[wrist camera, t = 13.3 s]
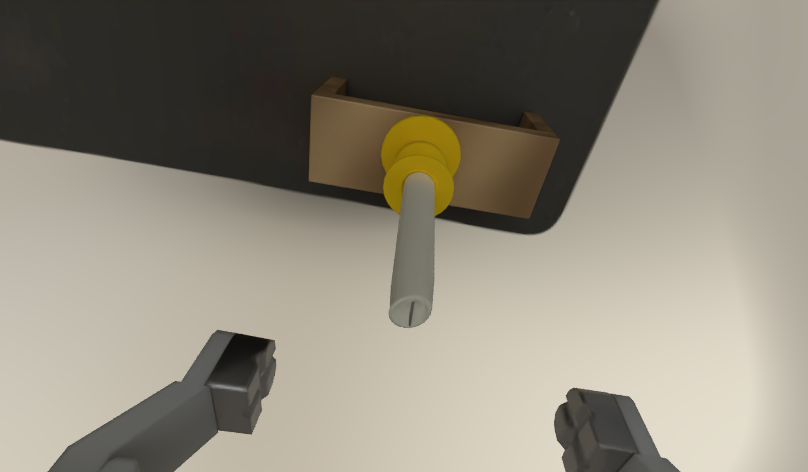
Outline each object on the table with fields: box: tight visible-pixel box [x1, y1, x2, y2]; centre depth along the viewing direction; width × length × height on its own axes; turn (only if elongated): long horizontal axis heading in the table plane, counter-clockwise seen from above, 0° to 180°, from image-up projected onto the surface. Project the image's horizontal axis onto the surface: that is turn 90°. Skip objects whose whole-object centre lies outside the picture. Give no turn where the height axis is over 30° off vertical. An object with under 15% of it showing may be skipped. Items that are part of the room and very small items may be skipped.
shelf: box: [309, 76, 560, 219], centre depth 28 cm, size 16×6×6 cm, turn 81°
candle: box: [381, 114, 461, 328], centre depth 19 cm, size 5×5×16 cm
